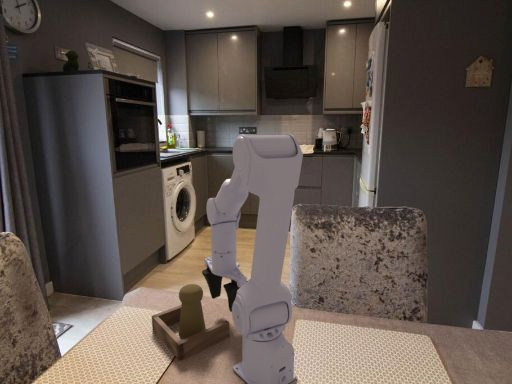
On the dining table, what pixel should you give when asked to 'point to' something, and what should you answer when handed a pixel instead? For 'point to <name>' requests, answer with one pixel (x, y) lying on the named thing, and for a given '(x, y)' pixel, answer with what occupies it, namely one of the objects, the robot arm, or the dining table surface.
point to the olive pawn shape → (191, 311)
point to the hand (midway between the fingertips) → (224, 303)
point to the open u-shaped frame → (190, 343)
